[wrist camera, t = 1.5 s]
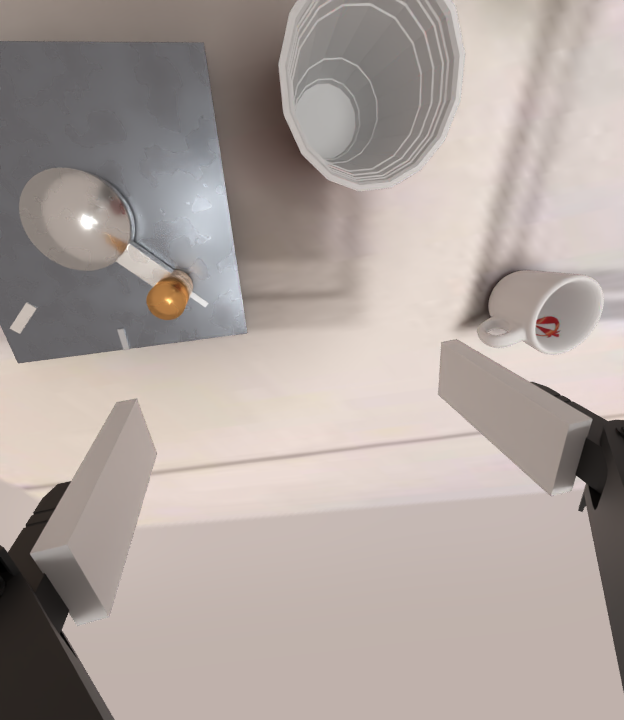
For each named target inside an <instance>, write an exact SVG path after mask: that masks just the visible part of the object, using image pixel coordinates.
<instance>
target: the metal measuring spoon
mask: <svg viewBox="0 0 624 720" xmlns="http://www.w3.org/2000/svg"><path fill="white" fill-rule="evenodd" d="M19 213H20V219H21V222H22V225H23V228H24V230H25V232H26V234H27V236H28V237H29V239H30V240H31V242H32V243H33V244H34V245H35V246H36V248H37V249H38V250H39V251H40V252H42V253H43V254H44V255H45V256H46V257H48V258H49V259H51V260H52V261H54V262H56V263H58V264H60V265H62V266H64V267H67V268H71V269H75V270H82V271H92V270H98V269H102V268H105V267H107V266H109V265H111V264H113V263H115V262H117V263H119V264H120V265H122V266H123V267H125V268H126V269H128V270H129V271H131V272H132V273H134V274H135V275H137V276H138V277H140V278H141V279H142V280H144V281H145V282H147V283H148V284H150V285H151V286H153V288H152V289H151V290H150V291H149V293H148V295H147V299H146V302H147V306H148V309H149V310H150V312H151V313H152V314H153V315H154V316H156V317H158V318H160V319H163V320H173V319H176V318H178V317H179V316H180V315H181V314H182V313H183V311H184V309H185V307H186V305H187V302H188V300H189V298H190V295H191V293H192V291H193V282H192V280H191V278H190V277H189V276H188V275H187V274H186V273H185V272H183V271H180V270H173V269H172V268H170V267H169V266H167V265H166V264H165V263H163V262H162V261H160V260H159V259H158V258H156V257H155V256H153V255H152V254H151V253H149V252H148V251H147V250H145V249H144V248H142V247H141V246H140V245H138V244H137V243H135V242H134V236H135V222H134V217H133V214H132V211H131V209H130V207H129V205H128V203H127V201H126V200H125V198H124V197H123V196H122V194H121V193H120V192H119V191H118V190H117V189H116V188H115V187H114V186H113V185H111V184H110V183H109V182H107V181H106V180H104V179H102V178H101V177H99V176H97V175H94V174H92V173H88V172H85V171H80V170H76V169H71V168H51V169H47V170H44V171H42V172H40V173H38V174H36V175H35V176H33V177H32V178H31V179H30V180H29V181H28V182H27V184H26V185H25V186H24V189H23V191H22V193H21V196H20V202H19Z"/></svg>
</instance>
